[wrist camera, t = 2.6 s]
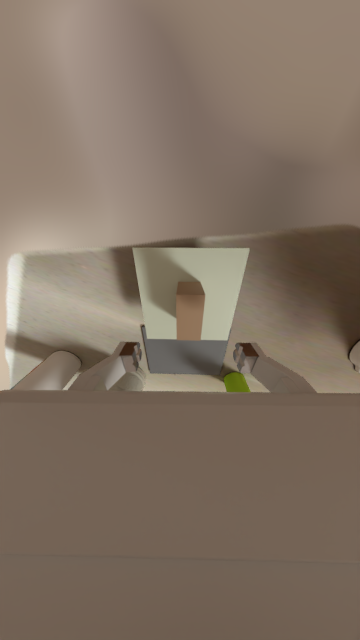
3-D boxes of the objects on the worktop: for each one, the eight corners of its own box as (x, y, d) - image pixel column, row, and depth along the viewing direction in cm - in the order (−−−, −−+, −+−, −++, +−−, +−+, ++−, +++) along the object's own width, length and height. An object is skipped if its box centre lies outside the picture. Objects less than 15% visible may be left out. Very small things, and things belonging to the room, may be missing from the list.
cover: (246, 247, 16) (275, 250, 11) (225, 336, 23) (237, 363, 18) (134, 247, 17) (112, 250, 11) (148, 335, 24) (138, 361, 19)
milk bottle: (61, 345, 34) (-64, 450, 17) (87, 362, 37) (4, 465, 20) (47, 357, 37) (-74, 459, 19) (73, 372, 40) (-12, 471, 22)
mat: (230, 327, 30) (231, 329, 29) (219, 373, 38) (219, 375, 37) (142, 325, 30) (142, 327, 30) (150, 371, 38) (150, 373, 38)
